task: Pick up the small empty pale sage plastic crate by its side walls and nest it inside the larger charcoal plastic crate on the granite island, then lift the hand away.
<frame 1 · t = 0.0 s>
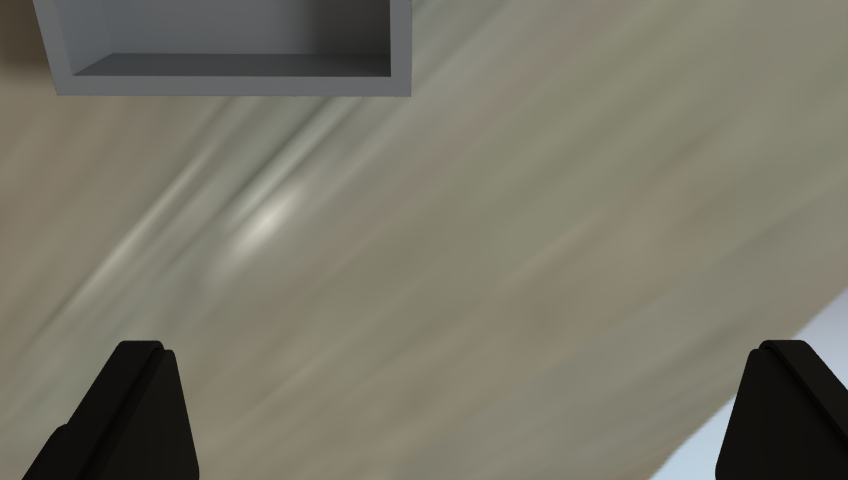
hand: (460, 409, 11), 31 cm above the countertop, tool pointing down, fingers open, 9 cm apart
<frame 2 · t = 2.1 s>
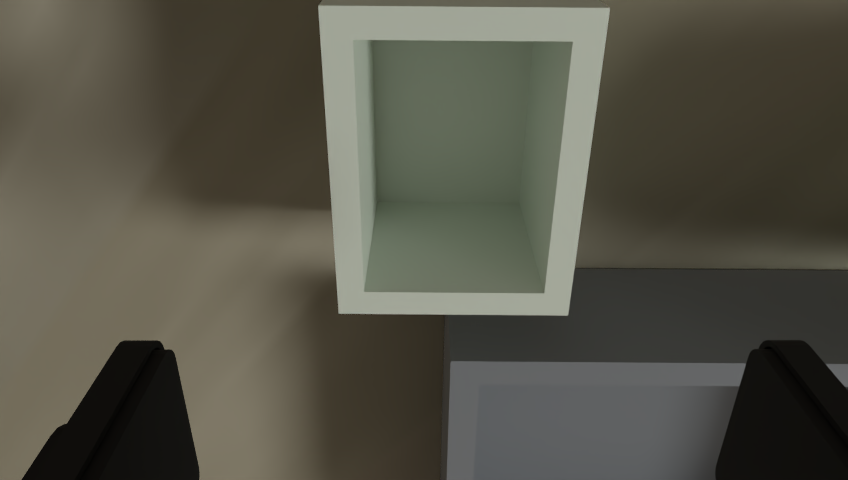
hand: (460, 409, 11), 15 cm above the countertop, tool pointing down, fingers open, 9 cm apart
charcoal crate: (632, 413, 31), on the countertop
sage crate: (450, 101, 24), on the countertop
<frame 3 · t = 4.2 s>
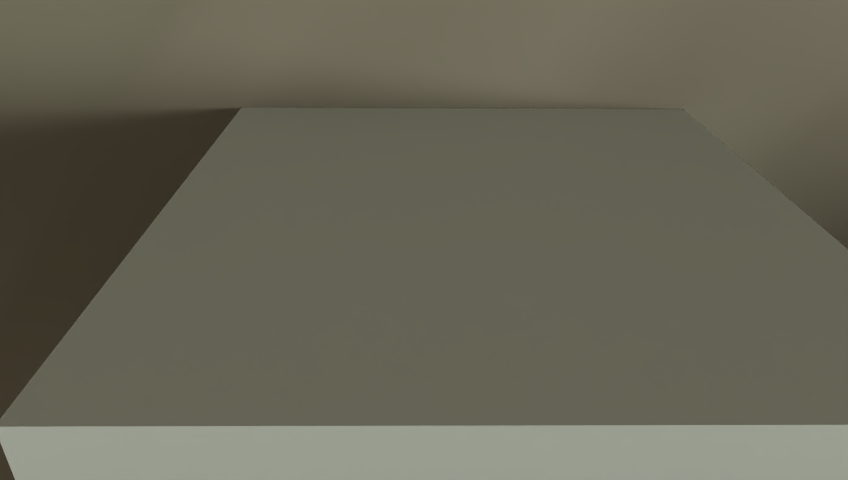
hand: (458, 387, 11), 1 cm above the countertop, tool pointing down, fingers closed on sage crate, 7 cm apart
sage crate: (455, 338, 13), on the countertop, touching gripper
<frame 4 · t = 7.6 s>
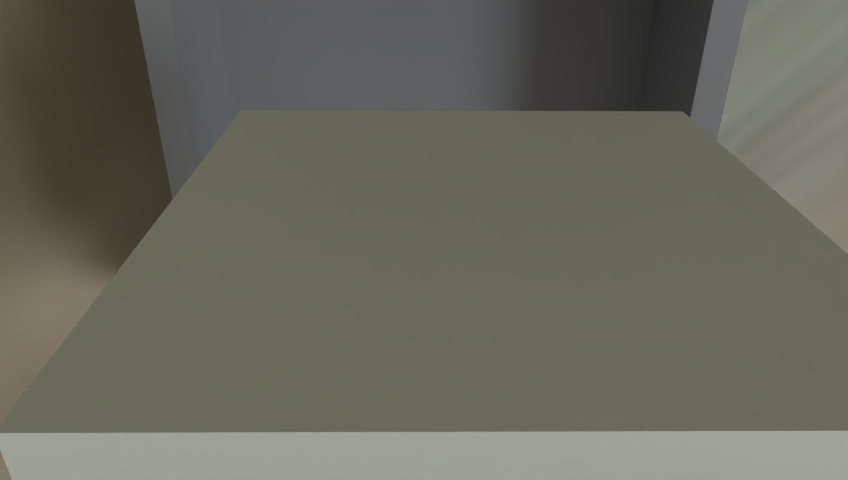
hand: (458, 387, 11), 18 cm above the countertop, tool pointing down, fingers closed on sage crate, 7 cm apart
charcoal crate: (435, 97, 27), on the countertop
sage crate: (454, 340, 13), point 16 cm above the countertop, touching gripper
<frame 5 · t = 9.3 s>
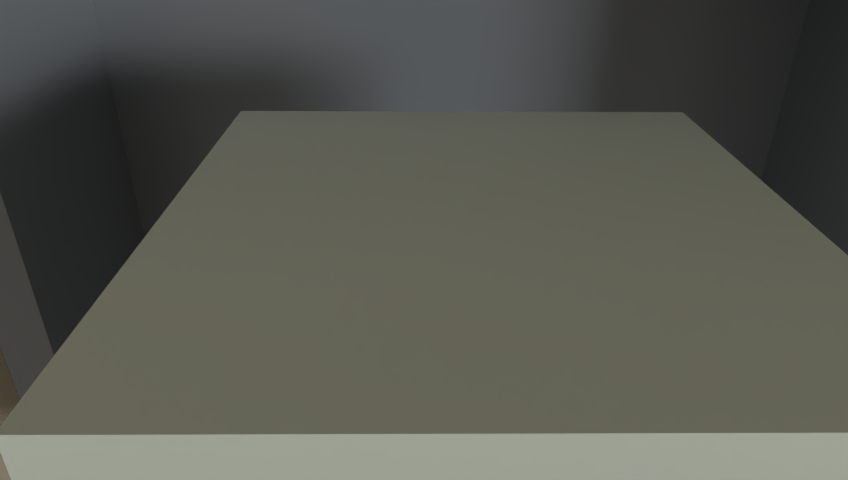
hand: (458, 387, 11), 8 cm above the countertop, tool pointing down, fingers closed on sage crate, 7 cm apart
charcoal crate: (445, 189, 18), on the countertop
sage crate: (454, 341, 13), point 6 cm above the countertop, touching gripper
when the fingers open (4 cm above the countertop, at t = 11.0 s): sage crate drops 2 cm, resting on charcoal crate.
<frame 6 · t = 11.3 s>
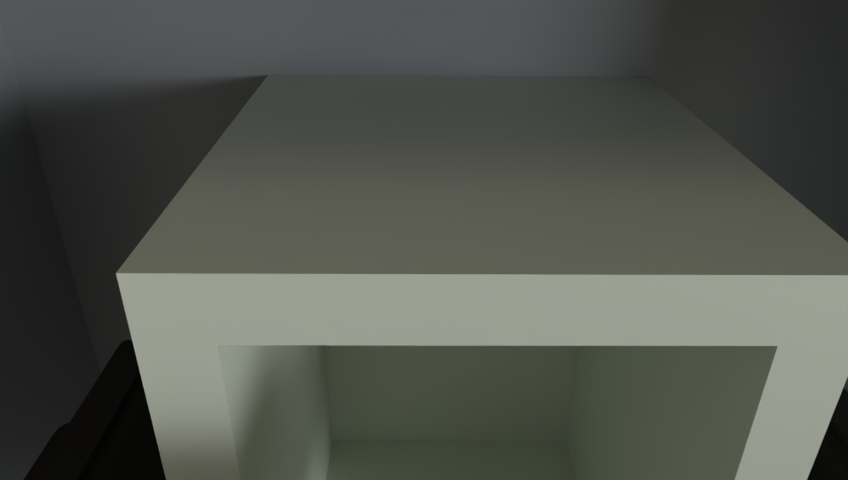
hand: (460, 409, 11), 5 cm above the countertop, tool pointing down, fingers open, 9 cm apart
charcoal crate: (448, 263, 15), on the countertop
sage crate: (452, 285, 14), point 1 cm above the countertop, touching charcoal crate
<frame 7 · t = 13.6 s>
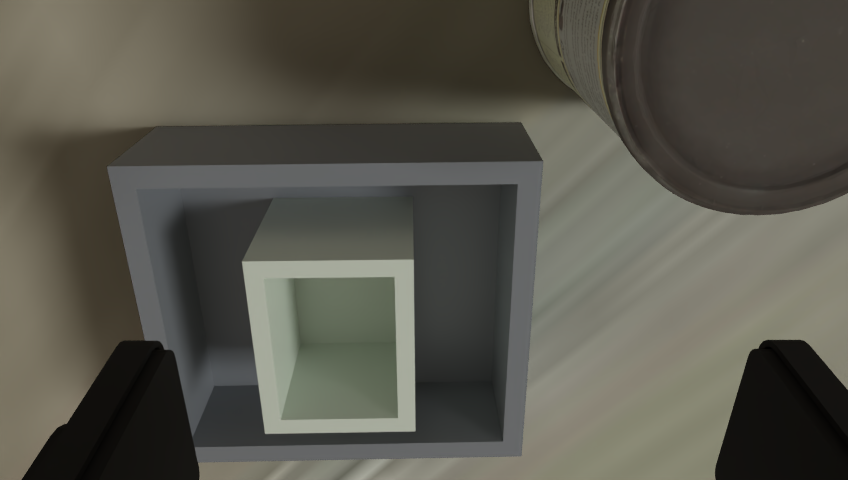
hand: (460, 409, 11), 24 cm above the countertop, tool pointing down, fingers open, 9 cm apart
charcoal crate: (348, 267, 36), on the countertop
sage crate: (347, 276, 36), point 1 cm above the countertop, touching charcoal crate
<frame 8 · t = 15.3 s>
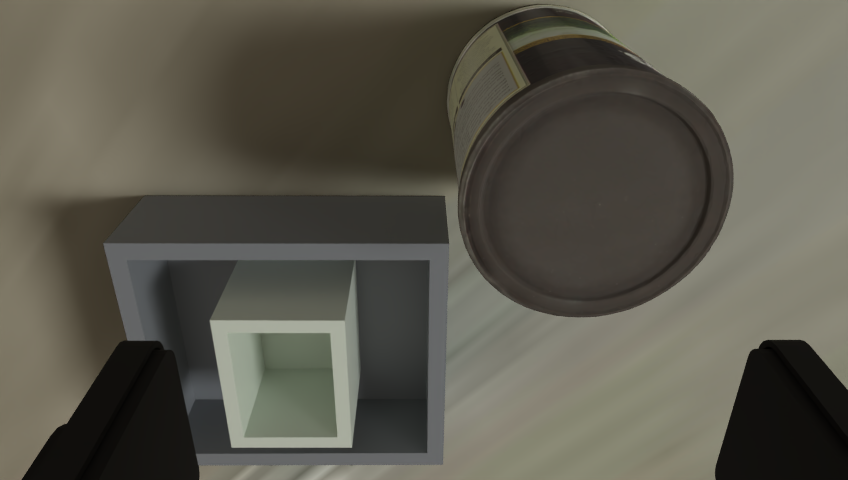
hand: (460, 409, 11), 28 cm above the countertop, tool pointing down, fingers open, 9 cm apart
charcoal crate: (305, 306, 44), on the countertop
coffee can: (535, 97, 38), on the countertop
sage crate: (303, 315, 43), point 1 cm above the countertop, touching charcoal crate
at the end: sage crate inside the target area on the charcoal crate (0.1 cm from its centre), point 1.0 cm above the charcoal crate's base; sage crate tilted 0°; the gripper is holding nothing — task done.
